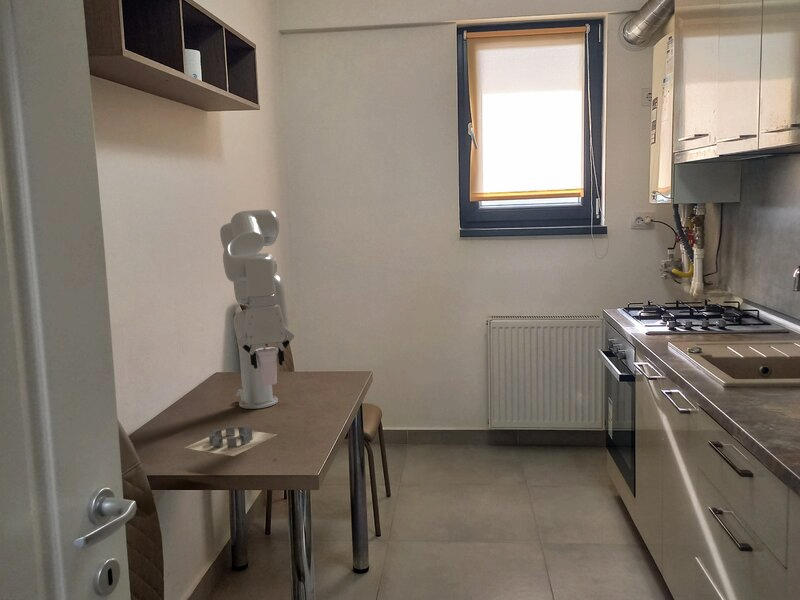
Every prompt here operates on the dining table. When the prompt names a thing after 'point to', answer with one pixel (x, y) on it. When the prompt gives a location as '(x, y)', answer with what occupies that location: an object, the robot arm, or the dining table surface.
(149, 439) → the dining table surface
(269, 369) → the smoothie
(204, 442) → the socket plate
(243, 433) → the grey blocks
